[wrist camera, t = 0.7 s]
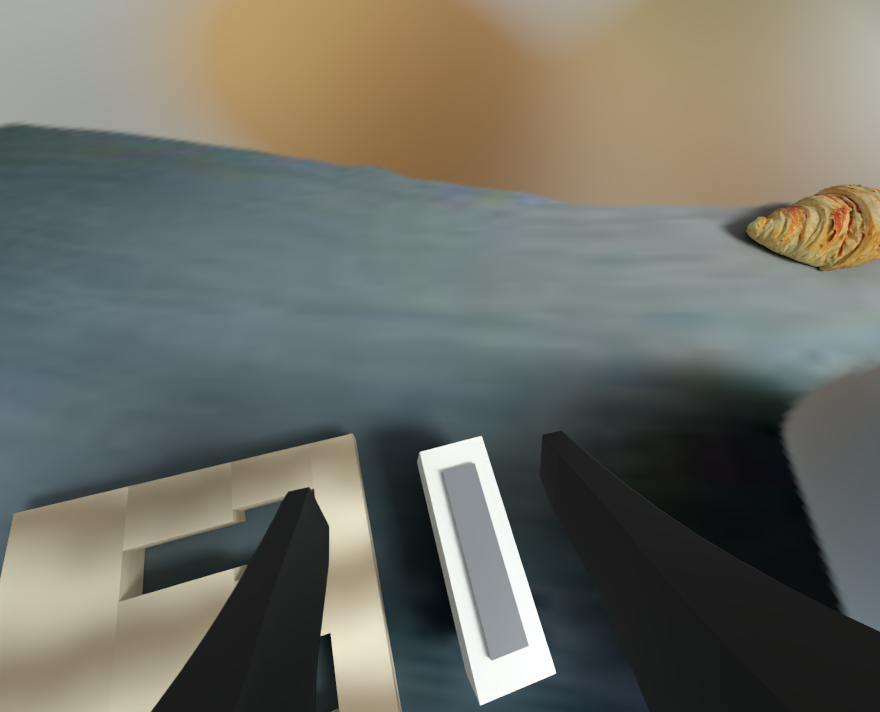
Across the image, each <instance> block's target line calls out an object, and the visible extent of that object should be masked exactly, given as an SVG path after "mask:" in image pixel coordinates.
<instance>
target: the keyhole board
mask: <svg viewBox="0 0 880 712" xmlns="http://www.w3.org/2000/svg"><path fill="white" fill-rule="evenodd" d="M306 487H310V489H311V491H312V493H313V492H314V493H315V499H316V501H317V503H318V505H319V507H320V509H321V511H322V513H323V515H324V517H325V519H326V521H327V523H328V525H329V568H328V577H327V586H326V595H325V603H324V611H323V619H322V628H321V636H323V635H326V634H329V633H331V642H332V650H333V659H334V668H335V677H336V686H337V694H338V703H339V708H338V709H336V710H333V711H330V712H402V710H401V704H400V698H399V693H398V687H397V681H396V675H395V669H394V663H393V657H392V651H391V645H390V639H389V633H388V627H387V621H386V615H385V609H384V604H383V598H382V592H381V586H380V580H379V574H378V568H377V562H376V556H375V550H374V544H373V538H372V532H371V526H370V521H369V515H368V509H367V503H366V497H365V491H364V485H363V479H362V473H361V467H360V461H359V455H358V449H357V443H356V439H355V437H354V435H353V434H348V435H344V436H340V437H336V438H331V439H327V440H323V441H319V442H314V443H310V444H306V445H302V446H297V447H293V448H289V449H285V450H280V451H276V452H272V453H268V454H264V455H259V456H255V457H251V458H247V459H242V460H238V461H234V462H230V463H225V464H221V465H217V466H213V467H208V468H204V469H200V470H196V471H191V472H187V473H183V474H179V475H175V476H170V477H166V478H162V479H158V480H153V481H149V482H145V483H141V484H136V485H132V486H128V487H124V488H119V489H115V490H111V491H107V492H102V493H98V494H94V495H90V496H86V497H81V498H77V499H73V500H69V501H64V502H60V503H56V504H52V505H47V506H43V507H39V508H35V509H30V510H26V511H22V512H18V513H14V515H13V520H12V525H11V530H10V534H9V539H8V544H7V549H6V554H5V559H4V563H3V568H2V573H1V578H0V712H151V711H152V709H153V708H154V707H155V705H156V704H157V703H158V701H159V700H160V698H161V697H162V696H163V694H164V693H165V692H166V690H167V689H168V688H169V686H170V685H171V683H172V682H173V681H174V679H175V678H176V677H177V675H178V674H179V672H180V671H181V670H182V668H183V667H184V665H185V664H186V662H187V661H188V659H189V658H190V657H191V655H192V654H193V652H194V651H195V649H196V648H197V646H198V645H199V643H200V642H201V640H202V639H203V637H204V636H205V634H206V633H207V631H208V630H209V628H210V627H211V625H212V624H213V622H214V621H215V619H216V617H217V616H218V614H219V613H220V611H221V609H222V608H223V606H224V604H225V603H226V601H227V600H228V598H229V596H230V595H231V593H232V591H233V590H234V588H235V587H236V585H237V583H238V582H239V580H240V578H241V577H242V575H243V573H244V571H245V570H246V568H247V565H243V566H240V567H236V568H233V569H230V570H226V571H223V572H219V573H216V574H212V575H209V576H206V577H202V578H199V579H195V580H192V581H189V582H185V583H182V584H178V585H175V586H171V587H168V588H165V589H161V590H158V591H154V592H151V593H148V594H144V595H142V591H143V576H144V560H145V548H149V547H153V546H156V545H160V544H164V543H167V542H171V541H175V540H179V539H182V538H186V537H190V536H193V535H197V534H201V533H204V532H208V531H212V530H216V529H219V528H223V527H227V526H230V525H234V524H238V523H242V522H245V521H246V520H245V510H249V509H253V508H256V507H260V506H264V505H268V504H272V503H275V502H279V501H283V499H284V497H285V495H286V494H287V493H288V491H293V490H297V489H302V488H306Z"/></svg>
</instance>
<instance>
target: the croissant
mask: <svg viewBox="0 0 880 712" xmlns="http://www.w3.org/2000/svg"><path fill="white" fill-rule="evenodd" d="M746 232H747V234H748V235H749V236H750V237H751V238H752V239H753V240H755V241H756V242H758V243H759V244H761V245H764V246H765V247H767V248H768V249H770V250H772V251H774V252H776V253H779V254H781V255H785V256H787V257H789V258H792V259H794V260H796V261H799V262H803V263H805V264H808V265H811V266H814V267H819V269H820V270H826V271H830V270H835V269H839V268H850V267H855V266H860V265H863V264H865V263H868V262H872V261H874V260H877V259H880V190H878V189H874V188H867V187H864V186H861V185H838V186H833V187H829V188H825V189H822V190H820V191H819V192H818V193H817V194H815V195H814V196H811V197H806V198H804V199H801V200H799V201H798V202H796V203H794V204H792V205H791V206H790V207H784V208H779V209H777V210H776V211H774V212H773V213H772V214H769V215H768V216H767V217H763V216H761V217H757V219H756V220H755V221H753V222H751V223H750V224H749V225H748V226H747V230H746Z"/></svg>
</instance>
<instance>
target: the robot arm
mask: <svg viewBox="0 0 880 712" xmlns="http://www.w3.org/2000/svg"><path fill="white" fill-rule="evenodd" d="M540 479H541V482H542V484H543V486H544V489H545V491H546V494H547V496H548V499H549V501H550V503H551V506H552V508H553V510H554V512H555V514H556V516H557V517H558V519H559V521H560V523H561V525H562V527H563V529H564V530H565V532H566V534H567V536H568V538H569V539H570V541H571V543H572V545H573V547H574V549H575V550H576V552H577V554H578V556H579V558H580V559H581V561H582V563H583V565H584V567H585V569H586V570H587V572H588V574H589V576H590V578H591V579H592V581H593V583H594V585H595V587H596V589H597V591H598V593H599V595H600V597H601V599H602V602H603V604H604V606H605V608H606V611H607V613H608V615H609V617H610V619H611V622H612V624H613V626H614V628H615V631H616V633H617V635H618V637H619V640H620V642H621V644H622V647H623V649H624V651H625V654H626V656H627V658H628V661H629V663H630V665H631V668H632V670H633V672H634V675H635V677H636V680H637V682H638V685H639V687H640V689H641V692H642V694H643V697H644V699H645V702H646V704H647V707H648V709H649V712H880V632H879V631H877V630H875V629H873V628H870V627H868V626H866V625H864V624H862V623H860V622H858V621H856V620H854V619H851V618H849V617H847V616H845V615H843V614H841V613H839V612H837V611H835V610H832V609H830V608H828V607H826V606H824V605H822V604H820V603H818V602H816V601H815V600H813V599H811V598H809V597H807V596H805V595H803V594H801V593H799V592H797V591H795V590H793V589H791V588H789V587H787V586H785V585H783V584H782V583H780V582H778V581H776V580H774V579H773V578H771V577H769V576H767V575H766V574H764V573H762V572H760V571H758V570H757V569H755V568H753V567H751V566H750V565H748V564H746V563H744V562H742V561H741V560H739V559H737V558H735V557H734V556H732V555H730V554H728V553H727V552H725V551H723V550H722V549H720V548H718V547H717V546H715V545H714V544H712V543H710V542H709V541H707V540H705V539H704V538H702V537H701V536H699V535H697V534H696V533H694V532H693V531H691V530H690V529H688V528H687V527H685V526H684V525H682V524H680V523H679V522H678V521H676V520H675V519H673V518H672V517H670V516H669V515H667V514H666V513H664V512H663V511H662V510H660V509H659V508H657V507H656V506H655V505H653V504H652V503H650V502H649V501H648V500H646V499H645V498H644V497H642V496H641V495H640V494H638V493H637V492H636V491H634V490H633V489H632V488H630V487H629V486H628V485H626V484H625V483H624V482H623V481H621V480H620V479H619V478H618V477H616V476H615V475H614V474H612V473H611V472H610V471H609V470H607V469H606V468H605V467H604V466H603V465H601V464H600V463H599V462H598V461H597V460H595V459H594V458H593V457H592V456H591V455H589V454H588V453H587V452H586V451H585V450H584V449H582V448H581V447H580V446H579V445H578V444H577V443H575V442H574V441H573V440H572V439H571V438H570V437H569V436H567V435H566V434H565V433H564V432H562V431H558V432H553V433H549V434H544V435H543V438H542V452H541V466H540ZM328 568H329V525H328V523H327V521H326V519H325V517H324V515H323V513H322V511H321V509H320V507H319V505H318V503H317V501H316V499H315V497H314V495H313V493H312V491H311V489H310V487H306V488H302V489H297V490H293V491H288V493H287V494H286V495H285V497H284V499H283V501H282V503H281V505H280V507H279V509H278V511H277V513H276V515H275V517H274V518H273V520H272V522H271V524H270V526H269V528H268V530H267V532H266V534H265V535H264V537H263V539H262V541H261V543H260V545H259V547H258V548H257V550H256V552H255V554H254V555H253V557H252V559H251V561H250V562H249V564H248V566H247V568H246V570H245V571H244V573H243V575H242V577H241V578H240V580H239V582H238V583H237V585H236V587H235V588H234V590H233V591H232V593H231V595H230V596H229V598H228V600H227V601H226V603H225V604H224V606H223V608H222V609H221V611H220V613H219V614H218V616H217V617H216V619H215V621H214V622H213V624H212V625H211V627H210V628H209V630H208V631H207V633H206V634H205V636H204V637H203V639H202V640H201V642H200V643H199V645H198V646H197V648H196V649H195V651H194V652H193V654H192V655H191V657H190V658H189V659H188V661H187V662H186V664H185V665H184V667H183V668H182V670H181V671H180V672H179V674H178V675H177V677H176V678H175V679H174V681H173V682H172V683H171V685H170V686H169V688H168V689H167V690H166V692H165V693H164V694H163V696H162V697H161V698H160V700H159V701H158V703H157V704H156V705H155V707H154V708H153V709H152V711H151V712H315V703H316V677H317V664H318V653H319V644H320V636H321V628H322V619H323V611H324V603H325V595H326V586H327V577H328Z"/></svg>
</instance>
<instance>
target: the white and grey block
mask: <svg viewBox="0 0 880 712" xmlns="http://www.w3.org/2000/svg"><path fill="white" fill-rule="evenodd" d="M417 464H418V469H419V473H420V477H421V482H422V486H423V490H424V495H425V499H426V503H427V507H428V512H429V516H430V520H431V525H432V529H433V533H434V538H435V542H436V546H437V550H438V555H439V559H440V563H441V568H442V572H443V576H444V580H445V585H446V589H447V593H448V598H449V602H450V606H451V611H452V615H453V619H454V623H455V628H456V632H457V636H458V641H459V645H460V649H461V654H462V658H463V662H464V666H465V671H466V674H467V676H468V678H469V681H470V683H471V685H472V688H473V690H474V692H475V695H476V697H477V699H478V702H479V704H480V705H483V704H485V703H487V702H490V701H492V700H494V699H497V698H499V697H502V696H504V695H506V694H509V693H511V692H513V691H516V690H518V689H521V688H523V687H525V686H528V685H530V684H532V683H535V682H537V681H539V680H542V679H544V678H547V677H549V676H551V675H554V674H556V671H555V668H554V664H553V661H552V658H551V655H550V652H549V649H548V645H547V642H546V639H545V636H544V633H543V629H542V626H541V623H540V620H539V617H538V614H537V610H536V607H535V604H534V601H533V598H532V594H531V591H530V588H529V585H528V582H527V579H526V575H525V572H524V569H523V566H522V563H521V560H520V556H519V553H518V550H517V547H516V544H515V540H514V537H513V534H512V531H511V528H510V525H509V521H508V518H507V515H506V512H505V509H504V505H503V502H502V499H501V496H500V493H499V490H498V486H497V483H496V480H495V477H494V474H493V470H492V467H491V464H490V461H489V458H488V455H487V451H486V448H485V445H484V442H483V439H482V436H480V437H476V438H472V439H468V440H464V441H460V442H456V443H452V444H448V445H445V446H441V447H437V448H433V449H429V450H425V451H421V452H419V456H418V460H417Z"/></svg>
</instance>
